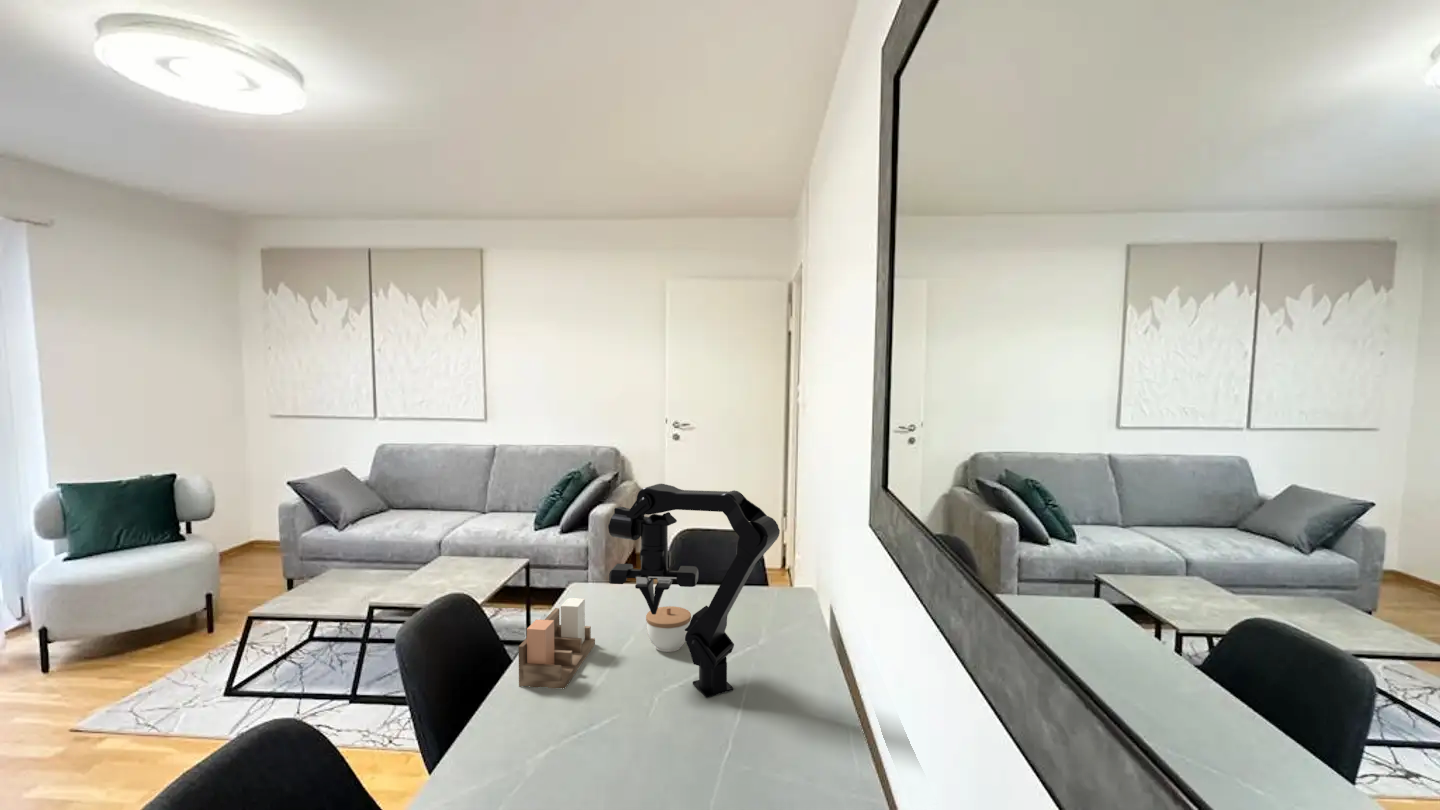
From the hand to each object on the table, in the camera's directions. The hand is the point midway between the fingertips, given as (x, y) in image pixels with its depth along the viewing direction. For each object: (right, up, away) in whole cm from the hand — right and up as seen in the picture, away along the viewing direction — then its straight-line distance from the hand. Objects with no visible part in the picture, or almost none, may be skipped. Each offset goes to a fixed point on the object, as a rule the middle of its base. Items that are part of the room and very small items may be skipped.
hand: (654, 613), depth 131 cm
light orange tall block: (-24, -11, -2) cm, 27 cm away
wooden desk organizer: (-22, -13, +4) cm, 25 cm away
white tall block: (-20, -11, +10) cm, 25 cm away
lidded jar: (+2, -13, +13) cm, 18 cm away
